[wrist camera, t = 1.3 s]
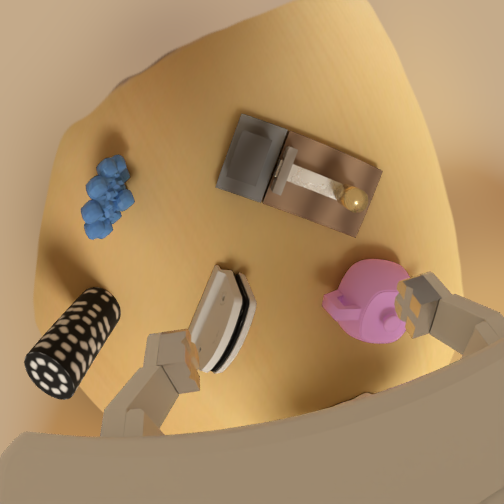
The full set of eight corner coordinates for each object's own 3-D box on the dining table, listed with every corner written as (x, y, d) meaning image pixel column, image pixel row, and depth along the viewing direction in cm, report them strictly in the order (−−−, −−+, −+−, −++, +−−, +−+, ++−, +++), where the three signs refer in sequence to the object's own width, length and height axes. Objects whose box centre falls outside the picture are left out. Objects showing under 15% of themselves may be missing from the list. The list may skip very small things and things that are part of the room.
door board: (377, 169, 45) (392, 173, 40) (351, 234, 48) (363, 244, 43) (241, 114, 42) (241, 110, 37) (216, 185, 46) (212, 190, 41)
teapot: (406, 326, 55) (431, 360, 44) (308, 321, 53) (321, 360, 43) (427, 261, 50) (461, 287, 40) (325, 247, 49) (345, 275, 39)
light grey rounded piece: (216, 262, 50) (234, 298, 41) (242, 269, 52) (265, 304, 43) (182, 342, 54) (193, 383, 46) (207, 345, 57) (221, 385, 48)
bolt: (357, 188, 44) (375, 195, 37) (349, 206, 45) (366, 217, 38) (280, 157, 42) (286, 159, 36) (272, 177, 43) (277, 182, 37)
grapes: (142, 231, 48) (113, 257, 36) (104, 223, 47) (68, 246, 36) (154, 157, 44) (124, 162, 33) (113, 151, 43) (75, 155, 32)
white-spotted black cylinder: (128, 306, 52) (82, 380, 33) (109, 335, 54) (65, 407, 35) (91, 278, 50) (31, 340, 31) (74, 308, 52) (20, 372, 33)
